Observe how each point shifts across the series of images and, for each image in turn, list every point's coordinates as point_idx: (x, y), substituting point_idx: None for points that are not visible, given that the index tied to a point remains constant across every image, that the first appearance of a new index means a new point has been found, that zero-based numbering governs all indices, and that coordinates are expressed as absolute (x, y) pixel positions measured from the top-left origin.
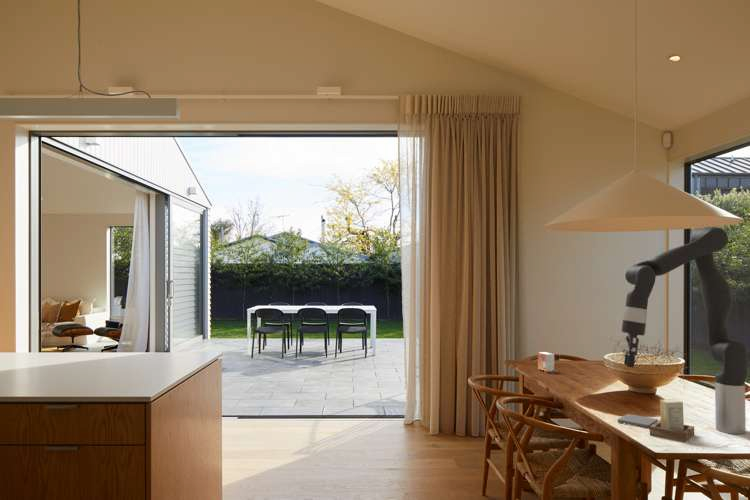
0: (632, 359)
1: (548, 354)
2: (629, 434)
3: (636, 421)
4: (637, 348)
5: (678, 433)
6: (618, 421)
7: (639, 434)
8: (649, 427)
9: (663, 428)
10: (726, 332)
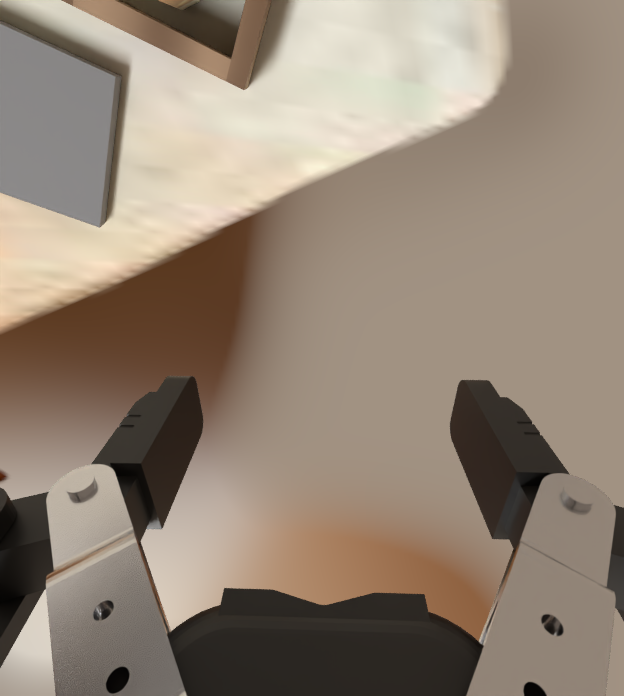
0: (551, 466)
1: None
2: (276, 186)
3: (77, 138)
4: (608, 627)
5: None
6: (103, 221)
7: (257, 140)
8: (104, 68)
9: (248, 1)
10: None
